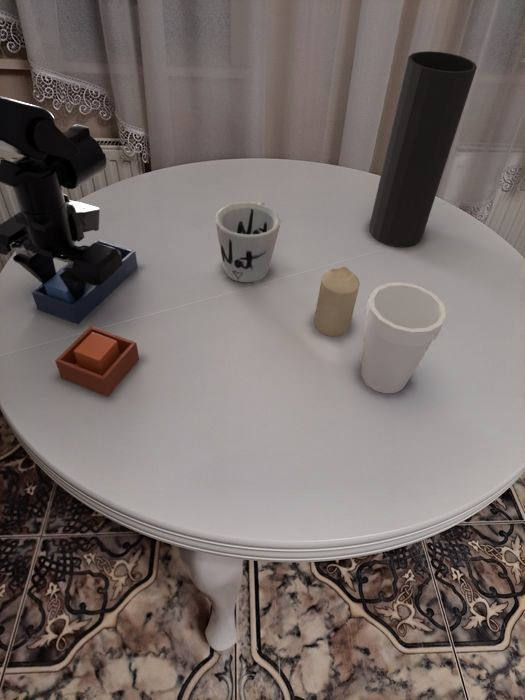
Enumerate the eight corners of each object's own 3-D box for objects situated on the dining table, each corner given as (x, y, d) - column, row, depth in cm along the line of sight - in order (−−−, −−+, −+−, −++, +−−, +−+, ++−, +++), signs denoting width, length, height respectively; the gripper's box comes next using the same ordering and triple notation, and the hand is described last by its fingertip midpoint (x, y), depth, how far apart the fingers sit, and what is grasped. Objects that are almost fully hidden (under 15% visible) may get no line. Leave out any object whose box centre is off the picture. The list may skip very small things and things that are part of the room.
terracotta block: (79, 371, 69) (73, 350, 66) (97, 352, 71) (92, 331, 69) (104, 381, 68) (99, 360, 65) (121, 361, 70) (117, 340, 68)
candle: (309, 330, 78) (317, 278, 70) (320, 309, 81) (329, 257, 74) (343, 341, 76) (356, 288, 69) (353, 319, 80) (366, 267, 73)
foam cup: (339, 360, 73) (355, 289, 64) (394, 346, 76) (417, 276, 67) (371, 409, 67) (395, 339, 58) (430, 392, 70) (461, 323, 61)
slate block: (50, 304, 77) (43, 284, 74) (67, 290, 80) (61, 269, 77) (72, 312, 76) (66, 291, 74) (88, 297, 79) (83, 276, 76)
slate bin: (37, 309, 78) (31, 292, 75) (100, 255, 88) (97, 238, 86) (78, 324, 76) (73, 307, 73) (137, 267, 86) (135, 250, 84)
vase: (404, 215, 103) (450, 49, 82) (432, 242, 97) (491, 70, 75) (359, 222, 100) (395, 53, 79) (385, 251, 94) (432, 74, 72)
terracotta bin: (60, 377, 68) (54, 360, 66) (94, 342, 73) (90, 325, 71) (107, 396, 67) (103, 379, 64) (139, 359, 71) (136, 342, 69)
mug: (207, 280, 85) (205, 228, 78) (234, 234, 95) (235, 184, 88) (267, 294, 83) (271, 241, 76) (288, 245, 93) (293, 195, 86)
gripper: (137, 193, 69) (149, 284, 80) (27, 162, 74) (53, 252, 85) (86, 233, 62) (107, 327, 73) (-32, 196, 67) (4, 290, 78)
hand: (68, 296), depth 77 cm, fingers closed on slate block, 4 cm apart
